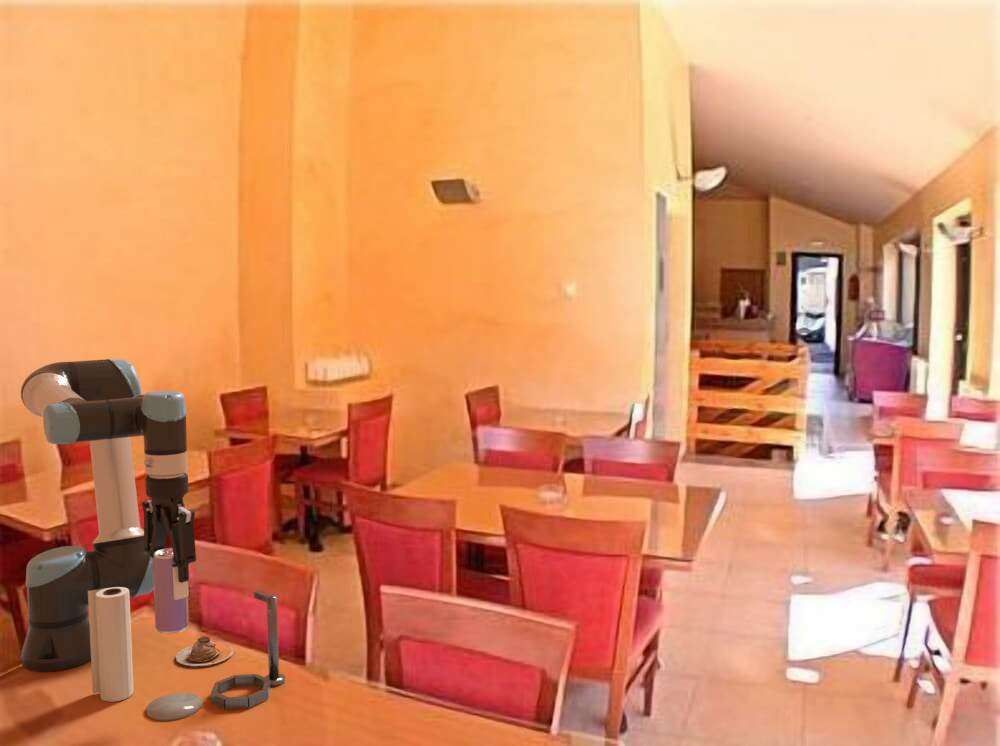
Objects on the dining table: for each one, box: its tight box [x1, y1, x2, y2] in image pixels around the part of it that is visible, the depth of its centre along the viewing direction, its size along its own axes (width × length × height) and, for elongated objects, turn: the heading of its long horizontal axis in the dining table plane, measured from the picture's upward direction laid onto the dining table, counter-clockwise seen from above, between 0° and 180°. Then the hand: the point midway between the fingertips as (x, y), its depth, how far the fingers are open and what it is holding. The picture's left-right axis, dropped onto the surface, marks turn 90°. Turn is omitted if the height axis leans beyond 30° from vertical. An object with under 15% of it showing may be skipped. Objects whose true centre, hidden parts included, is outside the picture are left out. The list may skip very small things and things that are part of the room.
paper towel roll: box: [88, 587, 134, 703], centre depth 179 cm, size 7×6×21 cm
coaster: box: [145, 692, 203, 721], centre depth 175 cm, size 10×10×1 cm
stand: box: [210, 590, 286, 710], centre depth 181 cm, size 11×16×18 cm
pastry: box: [175, 636, 234, 668], centre depth 199 cm, size 12×12×5 cm
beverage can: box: [153, 547, 190, 635], centre depth 173 cm, size 6×6×15 cm
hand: (171, 593), depth 173 cm, fingers closed on beverage can, 6 cm apart
